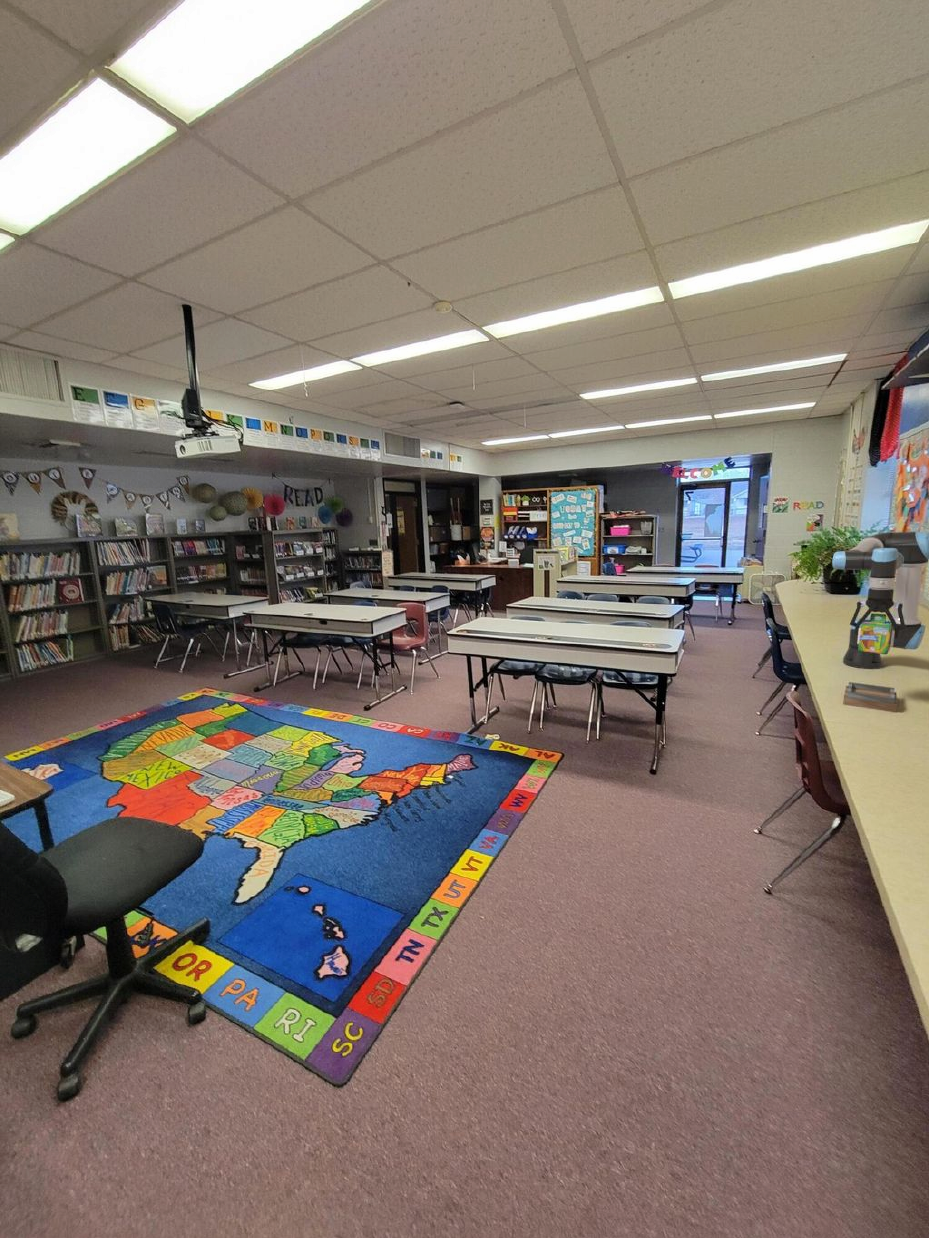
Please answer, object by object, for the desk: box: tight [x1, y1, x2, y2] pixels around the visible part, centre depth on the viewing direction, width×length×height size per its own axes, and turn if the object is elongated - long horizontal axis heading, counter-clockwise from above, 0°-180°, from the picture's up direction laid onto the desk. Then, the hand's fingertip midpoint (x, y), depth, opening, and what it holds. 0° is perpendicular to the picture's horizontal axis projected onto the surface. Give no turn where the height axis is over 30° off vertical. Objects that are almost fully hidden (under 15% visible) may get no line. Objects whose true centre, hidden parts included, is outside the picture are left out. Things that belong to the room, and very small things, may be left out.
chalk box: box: [858, 612, 893, 655], centre depth 193 cm, size 9×9×15 cm
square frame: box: [842, 681, 898, 713], centre depth 196 cm, size 16×16×5 cm
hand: (874, 644), depth 194 cm, fingers closed on chalk box, 9 cm apart
